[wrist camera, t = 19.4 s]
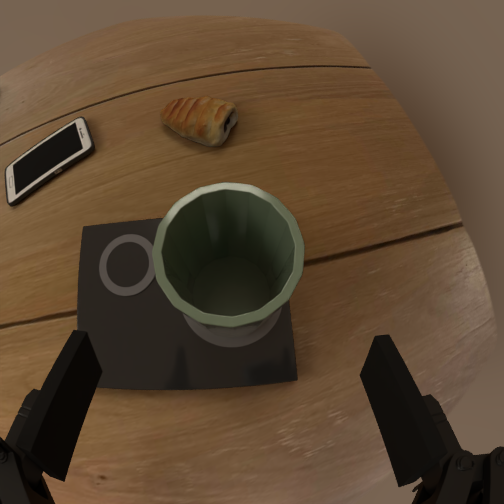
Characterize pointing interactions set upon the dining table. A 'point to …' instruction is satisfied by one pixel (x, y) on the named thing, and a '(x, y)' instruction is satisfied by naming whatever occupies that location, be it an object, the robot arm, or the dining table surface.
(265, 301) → the cup
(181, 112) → the pastry
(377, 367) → the robot arm
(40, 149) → the cell phone
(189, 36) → the dining table surface
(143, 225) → the hob
